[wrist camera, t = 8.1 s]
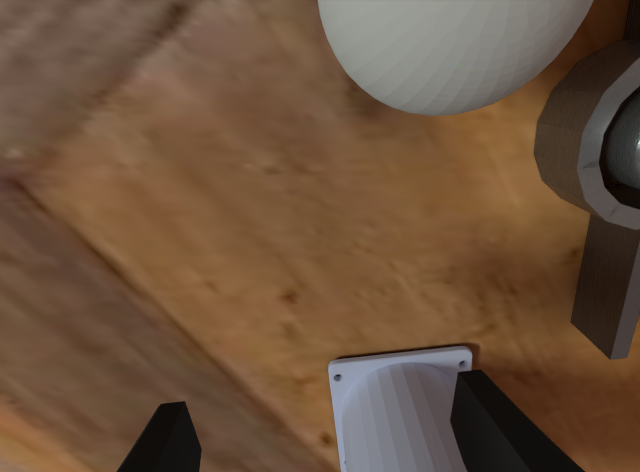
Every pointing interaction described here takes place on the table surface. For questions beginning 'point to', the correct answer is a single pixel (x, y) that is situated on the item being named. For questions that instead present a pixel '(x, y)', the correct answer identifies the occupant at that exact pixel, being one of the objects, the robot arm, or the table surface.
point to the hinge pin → (623, 143)
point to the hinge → (597, 187)
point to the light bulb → (447, 47)
